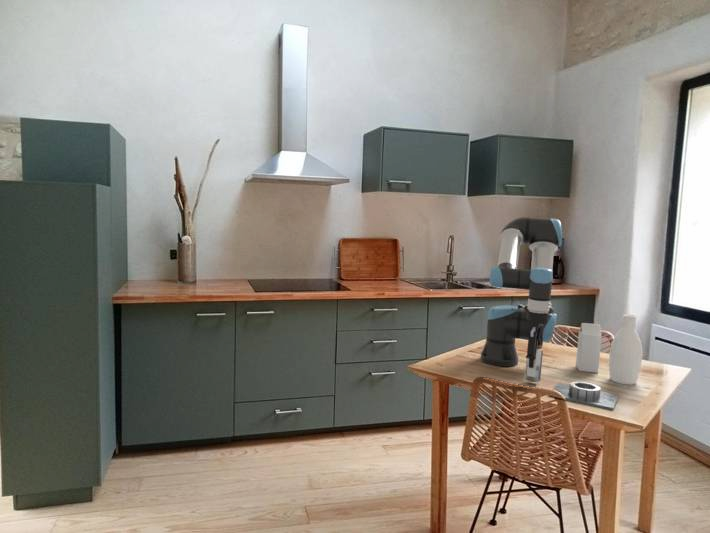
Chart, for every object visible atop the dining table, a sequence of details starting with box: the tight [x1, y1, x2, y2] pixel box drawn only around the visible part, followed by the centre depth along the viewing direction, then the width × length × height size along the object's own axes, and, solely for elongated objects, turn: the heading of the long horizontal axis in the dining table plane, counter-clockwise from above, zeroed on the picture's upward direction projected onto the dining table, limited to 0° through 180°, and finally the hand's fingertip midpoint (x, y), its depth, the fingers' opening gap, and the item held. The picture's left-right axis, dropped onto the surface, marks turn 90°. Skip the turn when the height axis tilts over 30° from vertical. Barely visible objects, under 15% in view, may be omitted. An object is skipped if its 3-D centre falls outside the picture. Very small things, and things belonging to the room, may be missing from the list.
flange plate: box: [552, 380, 620, 411], centre depth 183 cm, size 20×16×4 cm
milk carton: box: [575, 322, 603, 374], centre depth 216 cm, size 7×7×19 cm
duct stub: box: [524, 345, 544, 383], centre depth 194 cm, size 5×5×13 cm
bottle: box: [608, 313, 643, 386], centre depth 202 cm, size 11×11×25 cm
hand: (532, 373), depth 194 cm, fingers closed on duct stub, 5 cm apart
